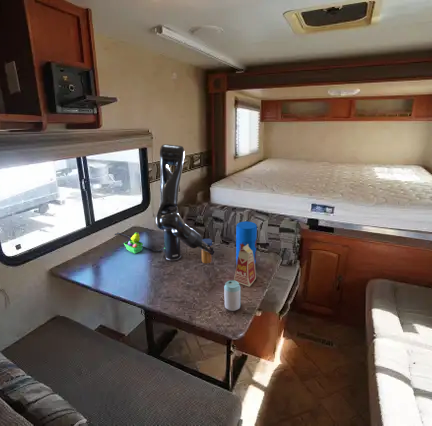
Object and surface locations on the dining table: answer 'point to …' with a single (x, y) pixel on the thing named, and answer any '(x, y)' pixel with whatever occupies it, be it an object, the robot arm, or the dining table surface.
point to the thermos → (246, 237)
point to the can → (232, 295)
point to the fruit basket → (134, 244)
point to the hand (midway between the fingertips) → (209, 251)
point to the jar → (206, 256)
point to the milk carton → (245, 267)
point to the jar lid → (207, 241)
